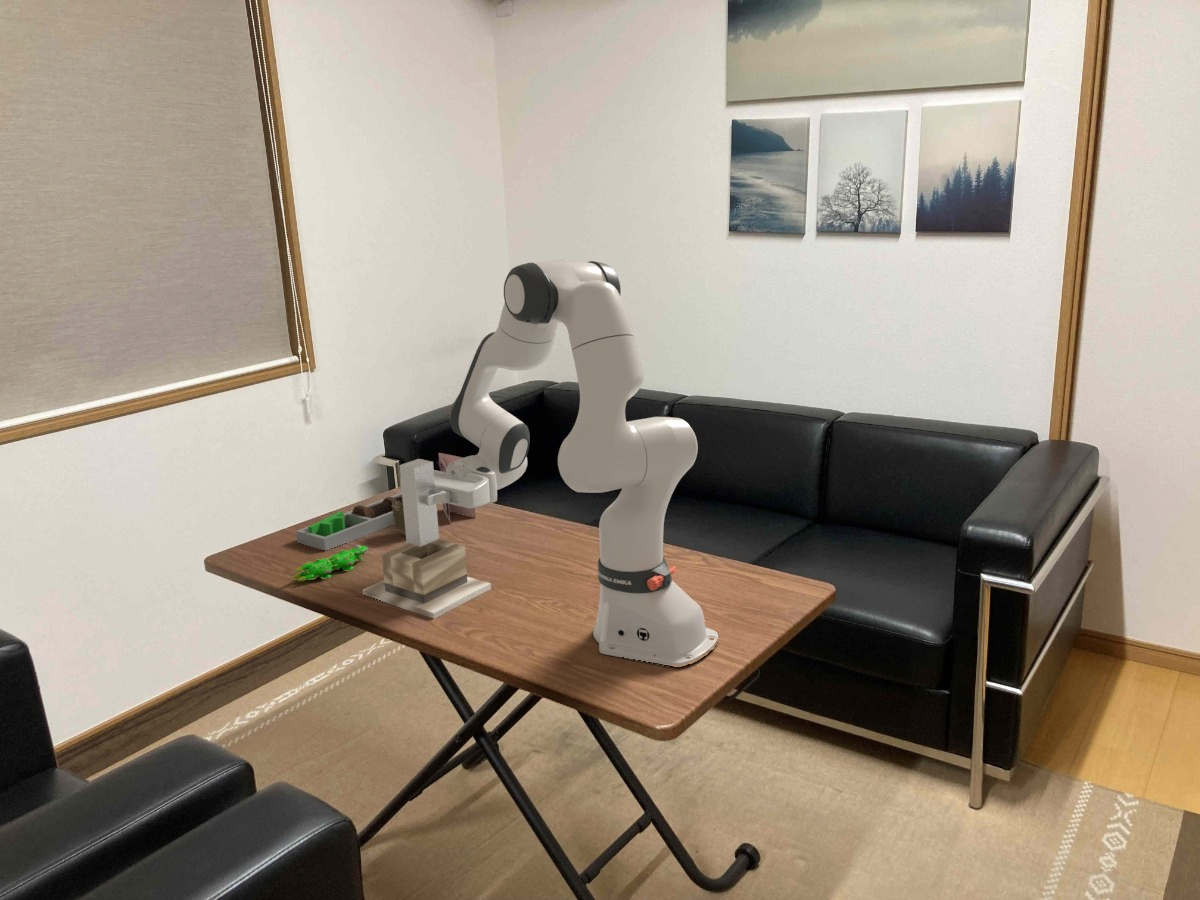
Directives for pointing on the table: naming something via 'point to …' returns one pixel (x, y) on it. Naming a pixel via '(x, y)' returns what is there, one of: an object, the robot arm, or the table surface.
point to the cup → (399, 515)
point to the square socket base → (426, 578)
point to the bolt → (376, 508)
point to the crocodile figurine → (330, 564)
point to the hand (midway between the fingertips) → (415, 499)
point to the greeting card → (444, 462)
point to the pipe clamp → (328, 525)
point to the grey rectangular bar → (419, 502)
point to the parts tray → (348, 529)
